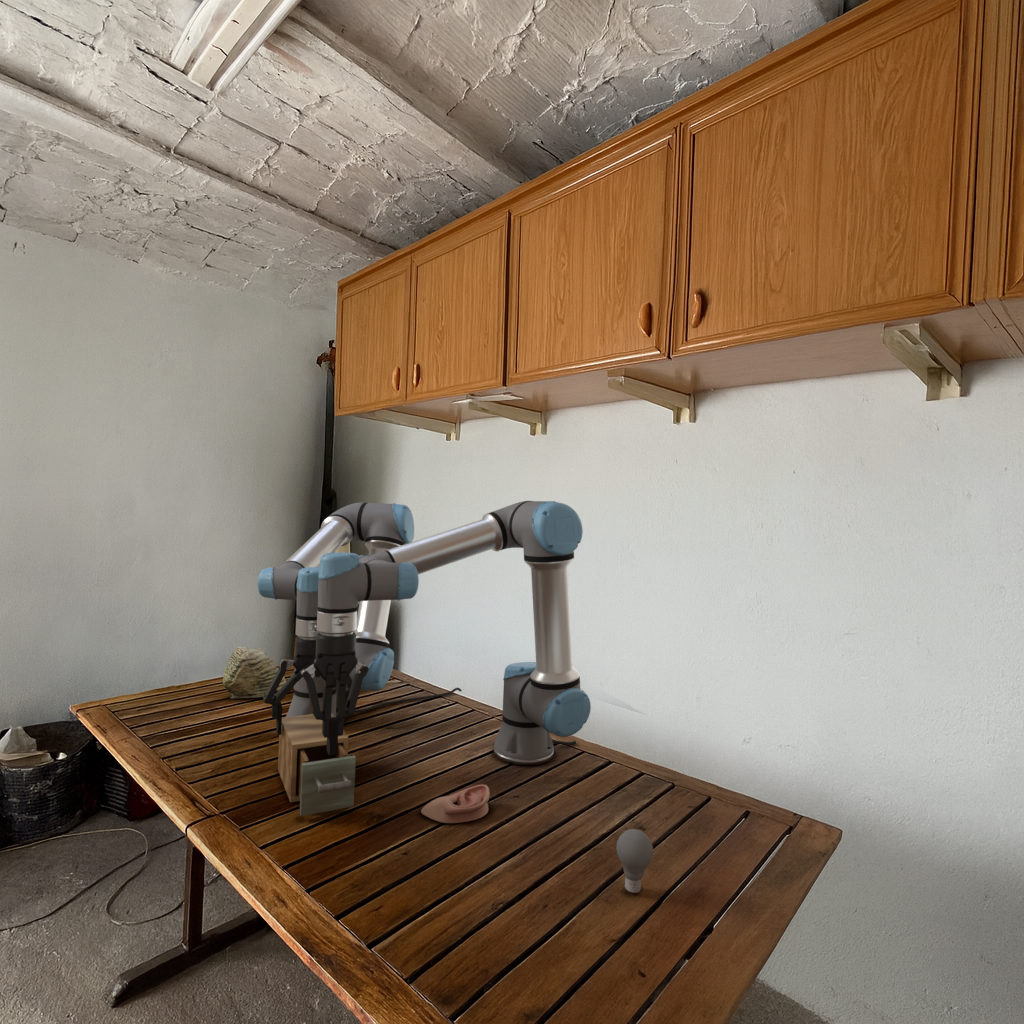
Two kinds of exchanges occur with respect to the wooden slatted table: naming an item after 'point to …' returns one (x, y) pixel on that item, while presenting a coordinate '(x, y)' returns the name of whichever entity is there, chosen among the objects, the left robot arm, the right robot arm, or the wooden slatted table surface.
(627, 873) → the light bulb
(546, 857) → the wooden slatted table surface
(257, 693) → the fossil
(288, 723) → the cabinet
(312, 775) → the drawer
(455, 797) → the anatomical model
